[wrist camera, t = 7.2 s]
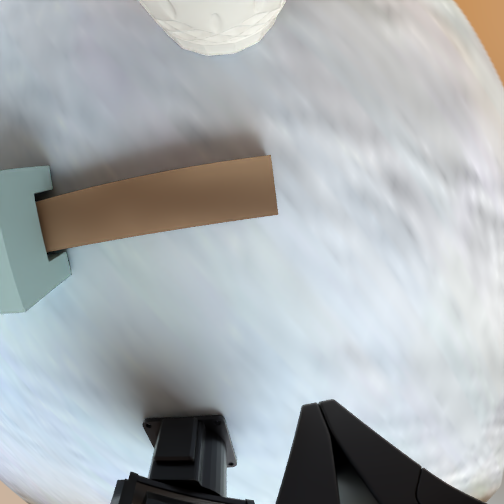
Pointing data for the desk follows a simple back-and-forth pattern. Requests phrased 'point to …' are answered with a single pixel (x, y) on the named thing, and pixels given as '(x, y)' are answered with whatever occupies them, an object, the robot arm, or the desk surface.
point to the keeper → (25, 242)
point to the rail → (160, 203)
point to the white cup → (214, 22)
